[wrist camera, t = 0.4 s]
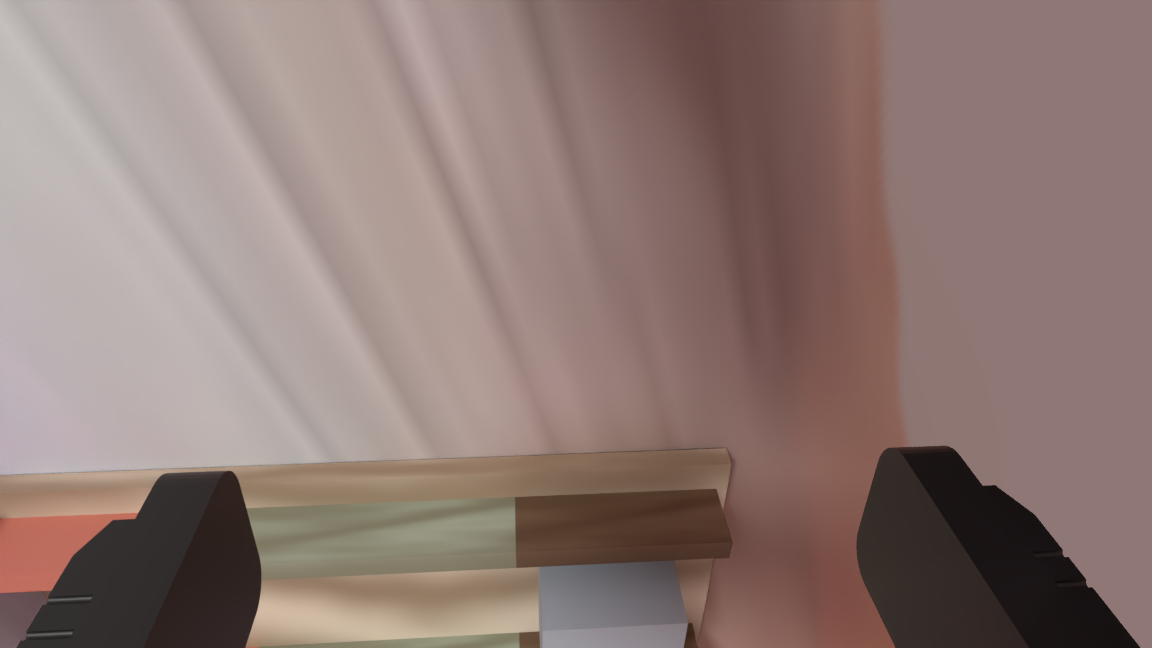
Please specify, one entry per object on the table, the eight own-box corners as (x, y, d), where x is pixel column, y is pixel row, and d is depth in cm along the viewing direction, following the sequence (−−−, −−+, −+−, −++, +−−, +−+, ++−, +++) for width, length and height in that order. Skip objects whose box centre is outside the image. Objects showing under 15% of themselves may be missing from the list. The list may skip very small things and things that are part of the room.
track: (-2, 475, 33) (-58, 553, 29) (726, 448, 35) (749, 517, 32) (105, 666, 41) (71, 744, 37) (692, 633, 43) (708, 704, 40)
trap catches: (0, 518, 33) (-41, 578, 30) (209, 509, 33) (186, 567, 31) (88, 667, 39) (59, 727, 37) (262, 658, 40) (246, 716, 37)
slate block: (538, 533, 36) (542, 631, 32) (667, 528, 36) (688, 623, 32) (538, 613, 39) (542, 710, 35) (656, 607, 40) (674, 702, 36)
